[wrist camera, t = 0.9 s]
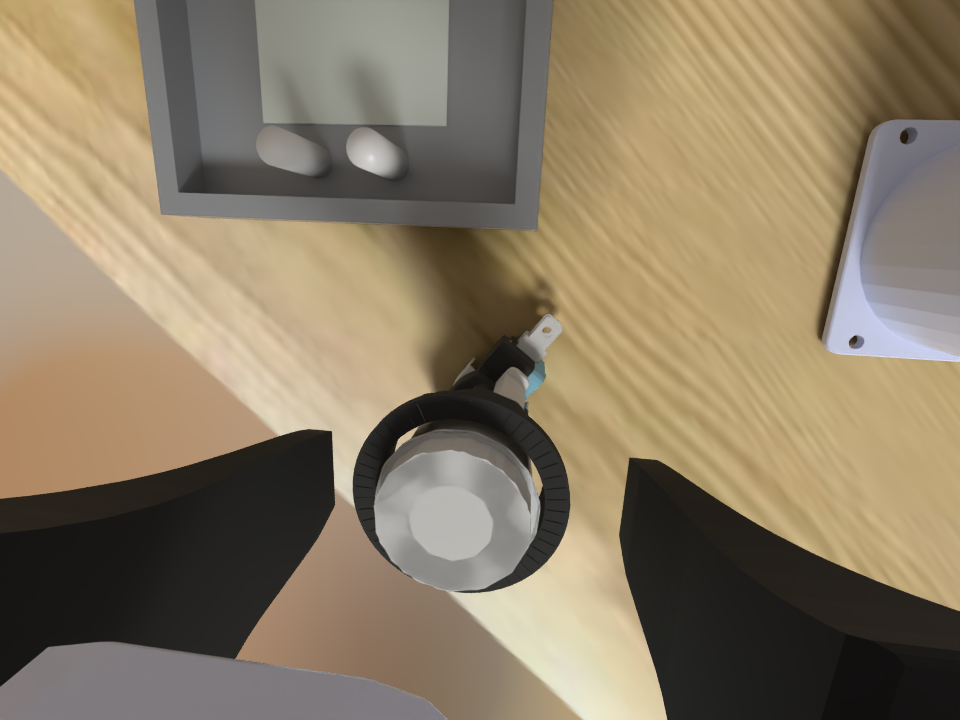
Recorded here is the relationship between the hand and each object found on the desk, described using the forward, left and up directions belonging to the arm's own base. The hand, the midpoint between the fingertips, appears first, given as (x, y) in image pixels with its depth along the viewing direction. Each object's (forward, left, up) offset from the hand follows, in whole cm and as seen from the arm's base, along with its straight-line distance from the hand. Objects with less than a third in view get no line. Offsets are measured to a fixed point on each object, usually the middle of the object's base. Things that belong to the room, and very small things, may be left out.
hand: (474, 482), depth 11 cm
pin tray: (+6, -14, -9) cm, 18 cm away
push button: (0, 0, -9) cm, 9 cm away
